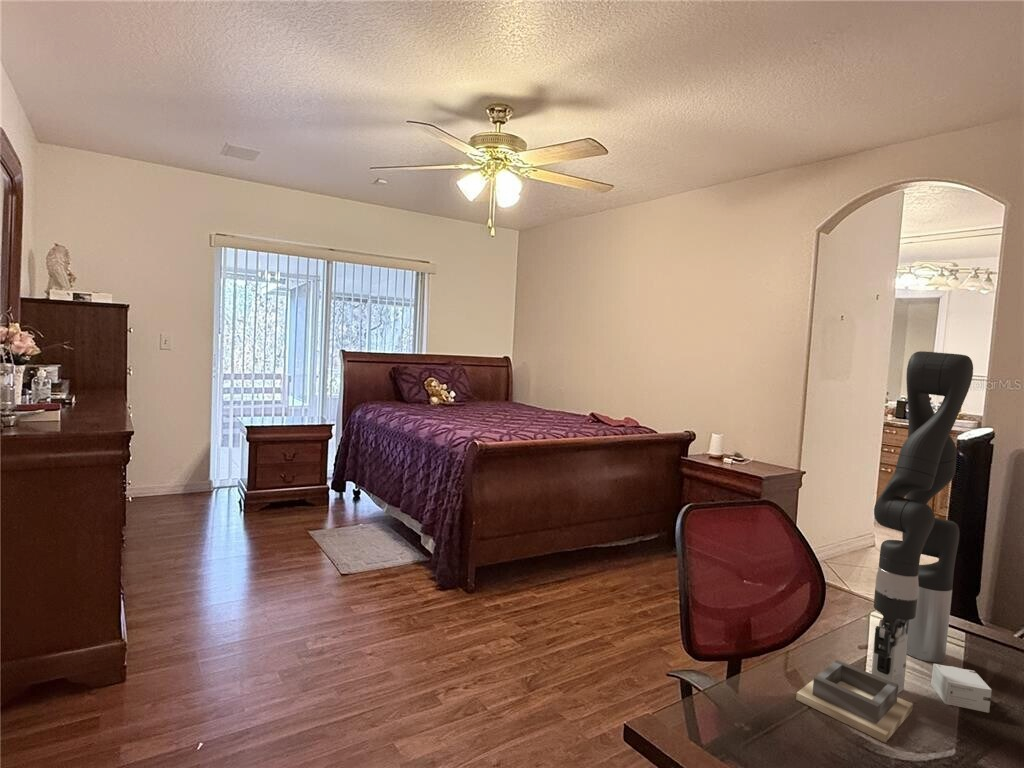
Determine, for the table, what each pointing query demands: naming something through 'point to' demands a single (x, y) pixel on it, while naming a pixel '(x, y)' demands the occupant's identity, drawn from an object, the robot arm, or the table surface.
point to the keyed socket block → (857, 699)
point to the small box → (961, 687)
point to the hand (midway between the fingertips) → (888, 667)
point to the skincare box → (894, 663)
